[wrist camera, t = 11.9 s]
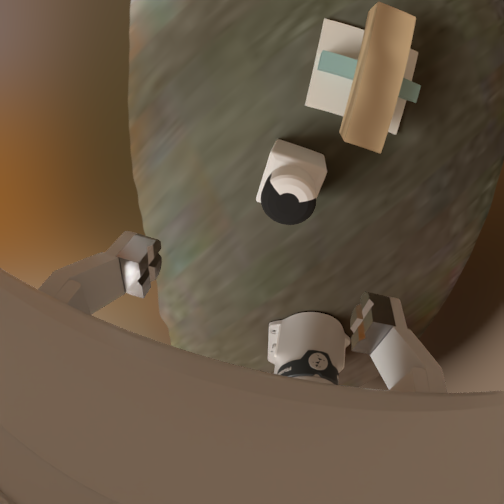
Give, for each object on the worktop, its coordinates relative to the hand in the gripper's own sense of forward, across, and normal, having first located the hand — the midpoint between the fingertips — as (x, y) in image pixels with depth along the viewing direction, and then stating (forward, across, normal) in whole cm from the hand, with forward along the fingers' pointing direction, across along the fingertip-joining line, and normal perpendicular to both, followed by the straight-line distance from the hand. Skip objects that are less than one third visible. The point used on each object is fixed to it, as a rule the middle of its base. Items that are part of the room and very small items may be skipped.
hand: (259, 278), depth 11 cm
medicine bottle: (+31, -1, +6) cm, 32 cm away
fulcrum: (+31, -7, -10) cm, 33 cm away
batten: (+25, -7, -10) cm, 28 cm away
